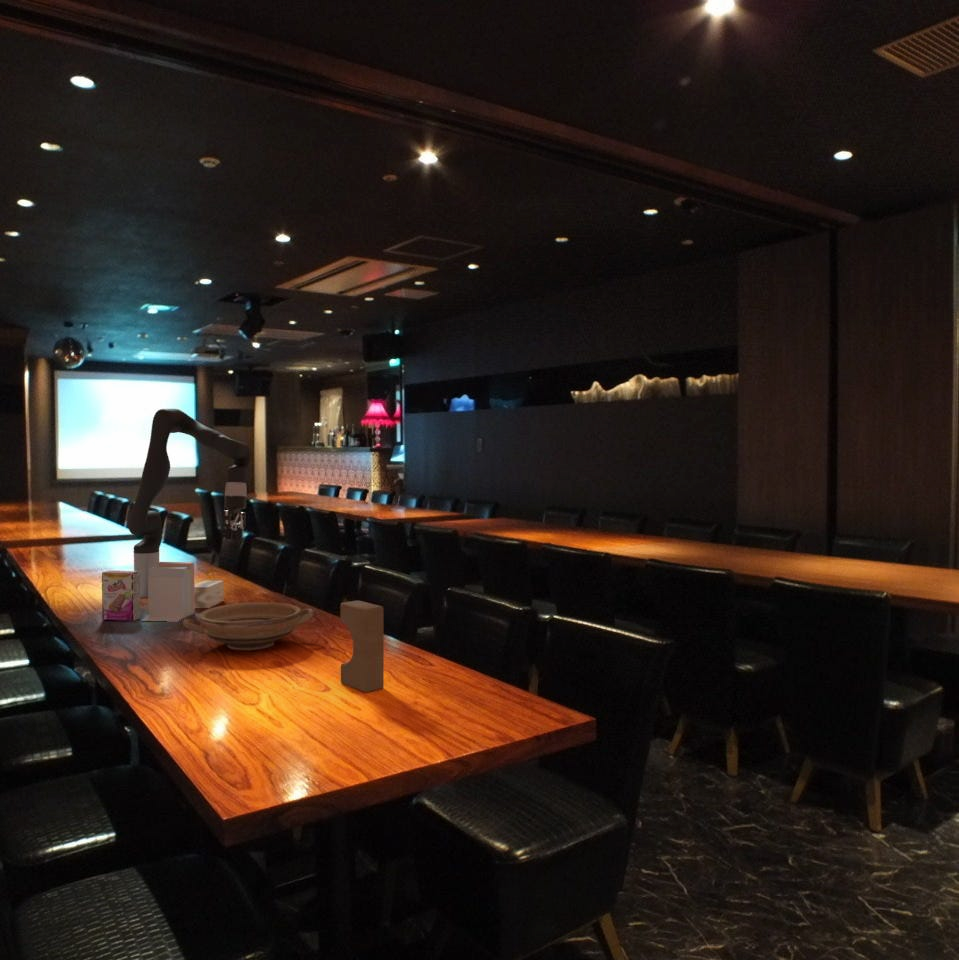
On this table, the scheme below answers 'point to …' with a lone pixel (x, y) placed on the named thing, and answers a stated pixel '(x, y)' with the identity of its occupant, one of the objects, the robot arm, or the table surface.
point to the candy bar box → (121, 595)
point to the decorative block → (364, 646)
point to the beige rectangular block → (208, 593)
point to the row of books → (170, 591)
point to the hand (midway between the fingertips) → (233, 539)
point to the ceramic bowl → (249, 623)
